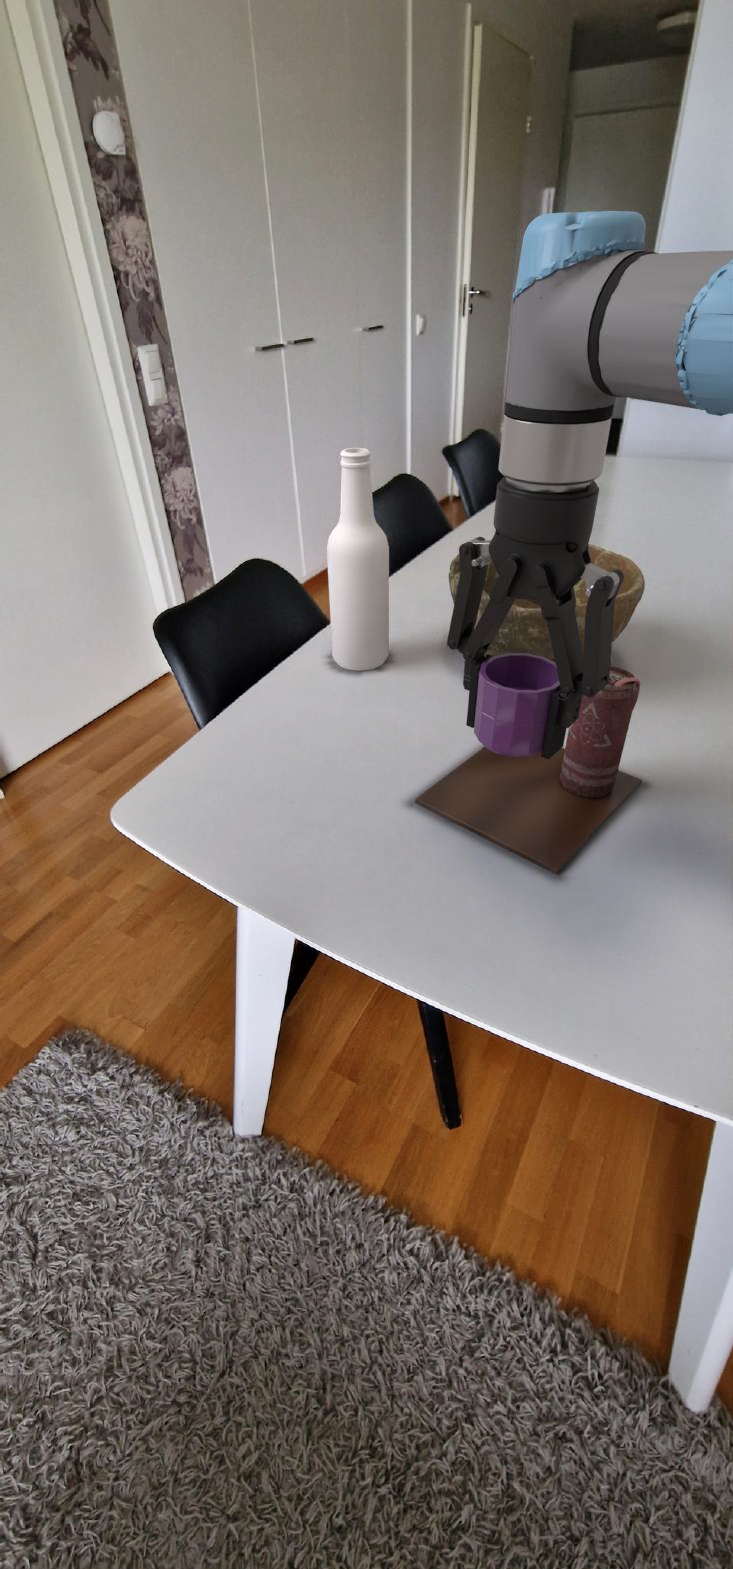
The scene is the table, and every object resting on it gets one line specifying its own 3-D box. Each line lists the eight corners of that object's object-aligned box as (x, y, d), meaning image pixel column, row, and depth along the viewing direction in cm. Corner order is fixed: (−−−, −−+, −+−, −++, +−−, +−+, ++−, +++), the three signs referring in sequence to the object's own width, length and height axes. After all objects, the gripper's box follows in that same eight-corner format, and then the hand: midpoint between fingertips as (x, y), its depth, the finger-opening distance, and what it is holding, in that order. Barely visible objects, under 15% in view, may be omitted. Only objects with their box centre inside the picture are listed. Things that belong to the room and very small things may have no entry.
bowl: (445, 623, 120) (449, 534, 111) (606, 627, 118) (624, 536, 109) (442, 704, 98) (448, 601, 89) (641, 711, 95) (667, 606, 87)
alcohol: (394, 669, 107) (395, 455, 89) (337, 675, 105) (326, 460, 88) (382, 644, 114) (381, 442, 96) (328, 649, 112) (317, 445, 94)
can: (621, 799, 79) (650, 690, 71) (565, 799, 79) (586, 690, 71) (608, 768, 84) (632, 662, 76) (554, 768, 84) (573, 663, 76)
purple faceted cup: (568, 735, 67) (580, 668, 62) (526, 770, 62) (537, 702, 58) (501, 709, 70) (509, 645, 66) (458, 741, 66) (463, 674, 62)
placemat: (641, 783, 82) (642, 779, 82) (555, 874, 71) (556, 869, 70) (509, 731, 92) (510, 727, 92) (415, 802, 80) (415, 798, 80)
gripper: (704, 490, 49) (633, 758, 63) (464, 451, 60) (449, 686, 74) (661, 515, 45) (594, 797, 59) (410, 467, 55) (404, 715, 69)
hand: (513, 735), depth 66 cm, fingers closed on purple faceted cup, 7 cm apart
